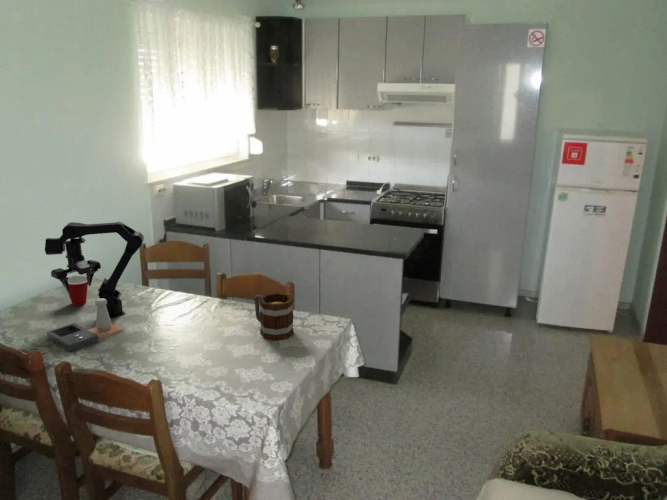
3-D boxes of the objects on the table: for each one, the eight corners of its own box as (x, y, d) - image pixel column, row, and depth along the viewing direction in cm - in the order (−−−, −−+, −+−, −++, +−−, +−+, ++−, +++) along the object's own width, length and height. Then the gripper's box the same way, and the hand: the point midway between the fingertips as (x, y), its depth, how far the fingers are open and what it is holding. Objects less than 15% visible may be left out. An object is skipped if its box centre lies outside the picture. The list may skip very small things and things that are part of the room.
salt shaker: (106, 333, 216) (102, 302, 212) (93, 331, 217) (89, 301, 213) (114, 327, 221) (111, 297, 218) (102, 325, 222) (98, 296, 219)
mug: (300, 333, 219) (300, 298, 215) (275, 344, 210) (274, 308, 206) (269, 319, 232) (268, 286, 228) (243, 329, 223) (242, 295, 218)
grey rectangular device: (75, 329, 221) (74, 322, 220) (98, 342, 210) (97, 334, 209) (47, 339, 213) (46, 331, 212) (70, 352, 202) (69, 344, 201)
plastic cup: (86, 308, 243) (82, 282, 239) (62, 307, 243) (58, 282, 240) (96, 299, 253) (93, 274, 250) (73, 298, 253) (70, 274, 250)
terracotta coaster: (109, 324, 226) (109, 322, 226) (122, 331, 220) (122, 328, 220) (86, 332, 219) (85, 330, 218) (99, 339, 213) (99, 337, 212)
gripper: (61, 262, 213) (66, 299, 218) (105, 251, 227) (109, 286, 232) (47, 257, 220) (53, 293, 224) (91, 247, 234) (96, 281, 239)
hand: (79, 288), depth 230 cm, fingers open, 9 cm apart
